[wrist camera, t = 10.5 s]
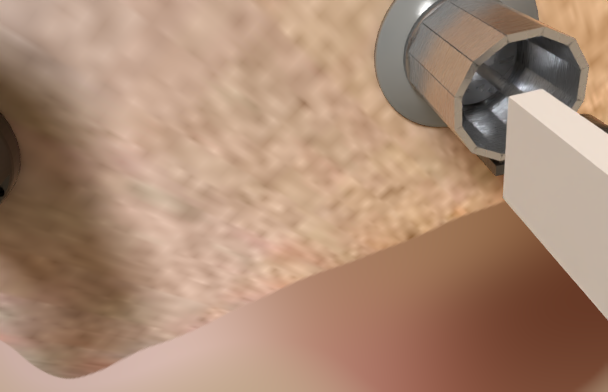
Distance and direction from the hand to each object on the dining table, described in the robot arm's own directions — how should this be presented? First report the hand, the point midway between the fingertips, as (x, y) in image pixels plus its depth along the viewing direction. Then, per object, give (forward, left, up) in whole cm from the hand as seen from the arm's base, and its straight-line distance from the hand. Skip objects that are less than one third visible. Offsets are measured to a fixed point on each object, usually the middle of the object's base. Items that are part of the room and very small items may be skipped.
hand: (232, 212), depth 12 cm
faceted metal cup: (+20, -12, -36) cm, 43 cm away
